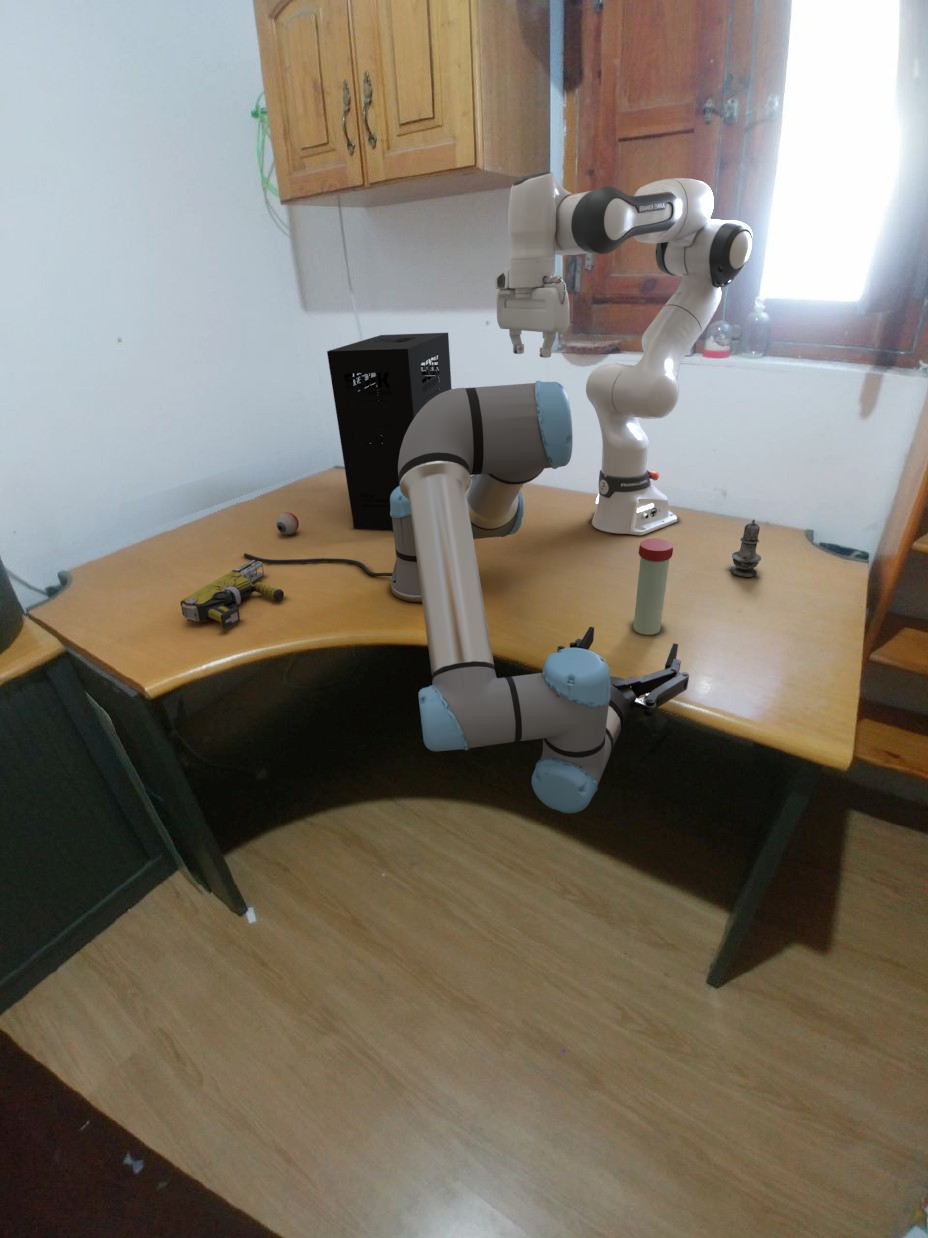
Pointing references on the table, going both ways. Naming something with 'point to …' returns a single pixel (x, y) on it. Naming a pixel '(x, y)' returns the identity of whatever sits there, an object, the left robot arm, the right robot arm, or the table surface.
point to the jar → (650, 596)
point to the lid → (656, 549)
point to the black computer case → (382, 411)
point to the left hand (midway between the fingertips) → (632, 641)
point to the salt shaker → (747, 552)
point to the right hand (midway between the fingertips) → (531, 355)
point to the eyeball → (287, 523)
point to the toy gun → (227, 596)
